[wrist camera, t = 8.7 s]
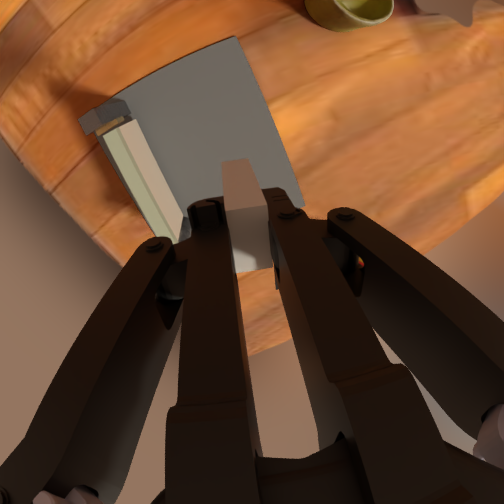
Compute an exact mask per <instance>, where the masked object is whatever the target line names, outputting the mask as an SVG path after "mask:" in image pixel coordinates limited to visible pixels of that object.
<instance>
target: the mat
mask: <svg viewBox="0 0 504 504" xmlns="http://www.w3.org/2000/svg"><path fill="white" fill-rule="evenodd" d="M121 101H126V103H127V105H128V107H129V109H130V111H131V114H129V115H128V116H126V117H124V119H125V120H124V121H123V122H121V123H119V124H118V125H116V126H115V127H113V128H112V129H110V130H108V131H107V132H105V133H103V134H102V135H100V136H98V135H97V134H96V131H95V132H94V134H95V136H96V138H97V139H98V141H99V143H100V145H101V147H102V148H103V150H104V152H105V154H106V156H107V157H108V159H109V161H110V163H111V164H112V166H113V168H114V169H115V171H116V173H117V175H118V176H119V178H120V180H121V181H122V183H123V185H124V186H125V188H126V190H127V191H128V193H129V195H130V196H131V198H132V199H133V201H134V203H135V204H136V206H137V208H138V209H139V211H140V212H141V214H142V215H143V217H144V219H145V220H146V222H147V223H148V225H149V226H150V224H149V222H148V221H147V219H146V217H145V215H144V214H143V212H142V210H141V208H140V206H139V205H138V203H137V201H136V199H135V197H134V196H133V194H132V192H131V190H130V188H129V186H128V184H127V183H126V181H125V179H124V177H123V175H122V173H121V171H120V169H119V167H118V165H117V163H116V162H115V160H114V158H113V156H112V154H111V152H110V150H109V148H108V146H107V144H106V142H105V140H104V138H103V136H104V135H105V134H107V133H109V132H111V131H112V130H114V129H116V128H118V127H120V126H122V125H124V124H126V123H128V122H130V121H132V120H135V119H136V120H137V122H138V124H139V127H140V129H141V131H142V133H143V135H144V137H145V139H146V141H147V144H148V146H149V148H150V150H151V152H152V154H153V156H154V158H155V160H156V162H157V164H158V166H159V168H160V170H161V172H162V174H163V176H164V178H165V180H166V182H167V184H168V186H169V188H170V190H171V192H172V194H173V196H174V198H175V200H176V202H177V204H178V206H179V208H180V210H181V212H182V214H183V217H187V218H189V217H188V213H187V208H188V206H189V205H191V204H192V203H194V202H196V201H199V200H203V199H207V198H213V197H219V196H224V195H223V181H222V166H221V162H226V161H232V160H239V159H246V158H248V159H249V162H250V164H251V166H252V169H253V171H254V174H255V176H256V178H257V181H258V183H259V186H260V188H261V189H267V188H274V187H279V188H281V189H283V190H285V191H286V193H287V195H288V196H289V198H290V200H291V201H292V203H293V205H294V206H295V207H297V208H301V207H304V206H305V203H304V200H303V197H302V194H301V191H300V189H299V186H298V183H297V180H296V178H295V175H294V172H293V169H292V167H291V164H290V161H289V159H288V156H287V154H286V151H285V148H284V146H283V143H282V141H281V138H280V136H279V133H278V131H277V128H276V126H275V123H274V121H273V118H272V116H271V113H270V111H269V109H268V106H267V104H266V102H265V99H264V97H263V95H262V92H261V90H260V88H259V85H258V83H257V81H256V79H255V76H254V74H253V72H252V70H251V67H250V65H249V63H248V61H247V59H246V57H245V54H244V52H243V50H242V48H241V46H240V44H239V42H238V40H237V38H236V36H234V37H232V38H229V39H226V40H224V41H221V42H219V43H216V44H214V45H211V46H209V47H206V48H204V49H202V50H199V51H197V52H195V53H193V54H190V55H188V56H186V57H184V58H182V59H180V60H178V61H176V62H174V63H172V64H170V65H168V66H166V67H164V68H162V69H160V70H158V71H156V72H154V73H152V74H151V75H149V76H147V77H145V78H143V79H142V80H140V81H138V82H136V83H135V84H133V85H131V86H130V87H128V88H126V89H125V90H123V91H121V92H120V93H118V94H117V95H115V96H114V97H112V98H110V99H109V100H107V101H106V102H104V103H103V104H101V105H100V106H104V105H108V104H112V103H116V102H121ZM100 106H99V107H100ZM97 131H98V130H97ZM150 228H151V230H152V231H153V229H152V227H151V226H150ZM153 233H154V231H153ZM154 234H155V233H154ZM155 236H156V234H155ZM156 237H157V236H156ZM190 237H191V233H190Z"/></svg>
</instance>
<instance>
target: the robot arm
mask: <svg viewBox="0 0 504 504" xmlns="http://www.w3.org/2000/svg"><path fill="white" fill-rule="evenodd" d="M221 166H222V181H223V195H224V196H219V197H213V198H207V199H203V200H199V201H196V202H194V203H192V204H191V205H189V206H188V208H187V213H188V217H189V221H190V226H191V237H189V238H188V239H186V240H184V241H181V242H179V243H176V244H173V242H172V240H171V238H168V237H164V236H160V237H152V238H150V239H148V240H147V241H145V242H143V243H142V244H141V245H140V246H139V247H138V248H137V250H136V251H135V252H134V254H133V255H132V256H131V258H130V259H129V260H128V262H127V263H126V265H125V266H124V267H123V269H122V270H121V272H120V273H119V274H118V276H117V277H116V279H115V280H114V281H113V283H112V285H111V286H110V287H109V289H108V290H107V292H106V293H105V295H104V296H103V298H102V299H101V301H100V302H99V304H98V305H97V307H96V308H95V310H94V311H93V313H92V314H91V316H90V318H89V319H88V321H87V322H86V324H85V325H84V327H83V329H82V330H81V332H80V333H79V335H78V337H77V338H76V340H75V342H74V343H73V345H72V347H71V348H70V350H69V352H68V354H67V355H66V357H65V359H64V360H63V362H62V364H61V366H60V368H59V369H58V371H57V373H56V375H55V377H54V379H53V380H52V383H51V384H50V386H49V388H48V390H47V392H46V394H45V396H44V398H43V399H42V401H41V404H40V405H39V408H38V410H37V412H36V414H35V416H34V418H33V420H32V422H31V424H30V426H29V429H28V431H27V433H26V435H25V438H24V439H23V440H22V441H21V442H20V444H19V445H18V446H17V447H16V448H15V449H14V451H13V452H12V453H11V454H10V456H9V457H8V458H7V459H6V460H5V461H4V463H3V464H2V465H1V466H0V504H114V503H115V502H116V500H117V498H118V496H119V494H120V492H121V490H122V488H123V486H124V483H125V480H126V477H127V475H128V472H129V469H130V465H131V462H132V459H133V456H134V453H135V450H136V446H137V444H138V441H139V438H140V435H141V432H142V429H143V426H144V423H145V420H146V417H147V414H148V411H149V408H150V406H151V403H152V400H153V397H154V394H155V391H156V388H157V386H158V383H159V380H160V377H161V375H162V372H163V369H164V367H165V364H166V361H167V358H168V356H169V353H170V351H171V348H172V345H173V343H174V340H175V337H176V335H177V332H178V330H179V327H180V324H181V322H182V326H181V340H180V356H179V357H180V358H179V374H178V397H177V403H176V405H175V406H173V407H170V409H169V411H168V413H167V420H166V438H165V489H164V490H163V491H161V492H160V493H159V495H158V496H157V497H156V498H155V499H154V500H153V501H152V503H151V504H504V322H503V321H502V320H501V319H500V318H498V316H497V315H495V314H494V313H493V312H492V311H491V310H490V309H489V308H488V307H486V306H485V305H484V304H483V303H482V302H481V301H479V300H478V299H477V298H476V297H475V296H474V295H472V294H471V293H470V292H469V291H468V290H466V289H465V288H464V287H463V286H461V285H460V284H459V283H458V282H457V281H455V280H454V279H453V278H452V277H450V276H449V275H448V274H446V273H445V272H444V271H443V270H441V269H440V268H439V267H437V266H436V265H435V264H433V263H432V262H431V261H430V260H428V259H427V258H426V257H424V256H423V255H421V254H420V253H419V252H417V251H416V250H415V249H413V248H412V247H410V246H409V245H408V244H406V243H405V242H403V241H402V240H401V239H399V238H398V237H396V236H395V235H393V234H392V233H391V232H389V231H388V230H386V229H385V228H383V227H382V226H380V225H379V224H377V223H376V222H374V221H373V220H371V219H370V218H368V217H367V216H365V215H364V214H362V213H361V212H359V211H357V210H354V209H350V208H348V207H345V208H344V207H340V208H336V209H333V210H330V211H329V212H328V213H327V220H316V219H309V218H308V216H307V214H306V213H305V212H304V211H303V210H302V209H300V208H297V207H295V206H294V205H293V203H292V201H291V200H290V198H289V196H288V195H287V193H286V191H285V190H283V189H281V188H279V187H274V188H267V189H261V188H260V186H259V183H258V181H257V178H256V176H255V174H254V171H253V169H252V166H251V164H250V162H249V159H248V158H246V159H239V160H232V161H226V162H221ZM359 257H360V258H361V259H362V261H363V263H364V266H362V265H361V264H360V263H359ZM272 259H273V262H272ZM273 263H274V272H275V285H276V290H278V289H279V291H280V295H281V298H282V302H283V305H284V309H285V312H286V316H287V320H288V323H289V327H290V330H291V334H292V337H293V341H294V345H295V348H296V352H297V355H298V359H299V363H300V366H301V370H302V374H303V377H304V381H305V385H306V388H307V392H308V395H309V399H310V403H311V407H312V410H313V414H314V418H315V422H316V426H317V431H318V441H319V449H320V451H318V452H316V453H314V454H312V455H310V456H308V457H306V458H301V459H286V458H269V457H263V453H262V448H261V443H260V437H259V432H258V424H257V418H256V411H255V404H254V397H253V391H252V384H251V377H250V370H249V363H248V355H247V348H246V341H245V334H244V326H243V319H242V311H241V304H240V296H239V288H238V280H237V275H236V273H240V272H247V271H253V270H259V269H266V268H272V267H273ZM373 329H374V330H375V331H376V332H377V333H378V334H379V336H380V337H381V338H382V339H383V340H384V341H385V342H386V343H387V345H388V346H389V347H390V348H391V349H392V350H393V351H394V353H395V354H396V355H397V356H398V357H399V358H400V359H401V361H402V362H403V363H404V364H405V365H406V366H407V367H408V368H407V367H406V366H404V365H403V364H401V363H400V364H392V363H391V362H390V361H389V359H388V358H387V356H386V354H385V352H384V350H383V348H382V346H381V344H380V342H379V340H378V338H377V336H376V334H375V332H374V330H373ZM409 370H410V371H411V372H412V373H413V374H414V376H415V377H416V378H417V379H418V380H419V381H420V382H421V384H422V385H423V386H424V387H425V388H426V390H427V391H428V392H429V393H430V394H431V396H432V397H433V398H434V399H435V400H436V402H437V403H438V404H439V405H440V406H441V408H442V409H443V410H444V411H445V412H446V414H447V415H448V416H449V417H450V418H451V419H452V420H453V421H454V422H455V423H456V425H457V426H459V427H460V428H461V429H462V430H463V431H464V432H465V433H467V434H468V435H469V436H471V437H472V438H474V439H476V440H477V443H476V444H475V445H474V448H473V455H474V456H473V455H471V454H469V453H467V452H465V451H463V450H461V449H459V448H457V447H455V446H453V445H451V444H449V443H447V442H446V441H444V440H443V439H442V437H441V435H440V432H439V430H438V428H437V425H436V423H435V421H434V419H433V417H432V415H431V412H430V410H429V408H428V406H427V404H426V402H425V400H424V398H423V396H422V393H421V391H420V390H419V387H418V385H417V383H416V381H415V379H414V377H413V375H412V374H411V372H410V371H409ZM484 459H485V460H486V461H487V462H485V461H484Z"/></svg>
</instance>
